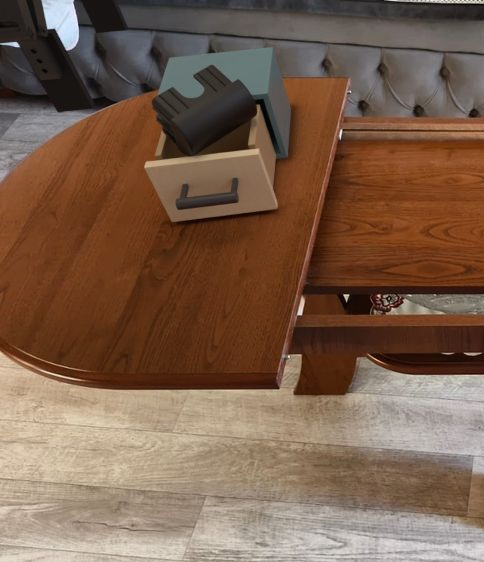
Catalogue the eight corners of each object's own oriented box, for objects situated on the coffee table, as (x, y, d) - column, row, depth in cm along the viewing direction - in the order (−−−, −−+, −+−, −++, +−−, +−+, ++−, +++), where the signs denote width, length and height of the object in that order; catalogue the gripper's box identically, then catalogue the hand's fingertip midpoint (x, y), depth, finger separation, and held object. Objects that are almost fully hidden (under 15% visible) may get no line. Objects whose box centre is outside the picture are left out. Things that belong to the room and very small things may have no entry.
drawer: (275, 230, 86) (255, 175, 80) (166, 244, 85) (137, 189, 78) (281, 156, 97) (264, 102, 90) (184, 168, 95) (160, 114, 89)
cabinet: (287, 158, 98) (267, 93, 90) (183, 170, 96) (153, 105, 89) (291, 109, 106) (273, 46, 99) (195, 120, 105) (169, 57, 97)
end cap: (196, 169, 84) (187, 137, 78) (157, 132, 85) (145, 97, 79) (260, 127, 89) (256, 94, 83) (222, 93, 90) (216, 57, 84)
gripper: (-44, -261, 53) (85, 7, 68) (-219, -174, 36) (5, 154, 51) (58, -266, 53) (162, -1, 69) (-67, -184, 37) (108, 142, 52)
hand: (95, 66), depth 60 cm, fingers open, 13 cm apart
